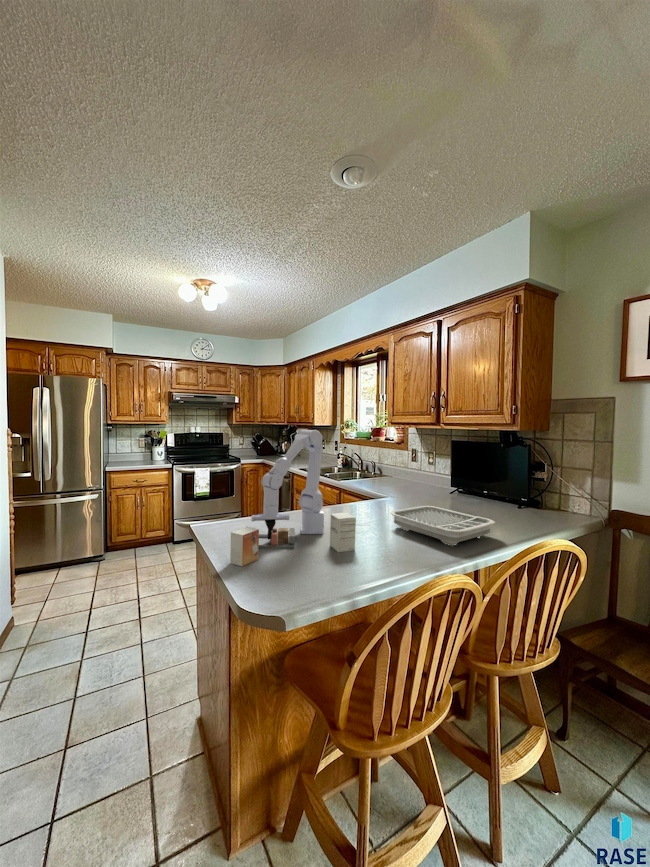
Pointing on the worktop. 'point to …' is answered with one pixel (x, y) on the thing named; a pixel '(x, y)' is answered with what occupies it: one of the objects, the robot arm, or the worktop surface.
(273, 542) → the free jaw
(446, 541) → the dish rack
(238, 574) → the worktop surface
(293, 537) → the vise body
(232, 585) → the worktop surface
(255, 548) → the small box
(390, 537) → the worktop surface
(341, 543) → the supplement box
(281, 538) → the walnut block
